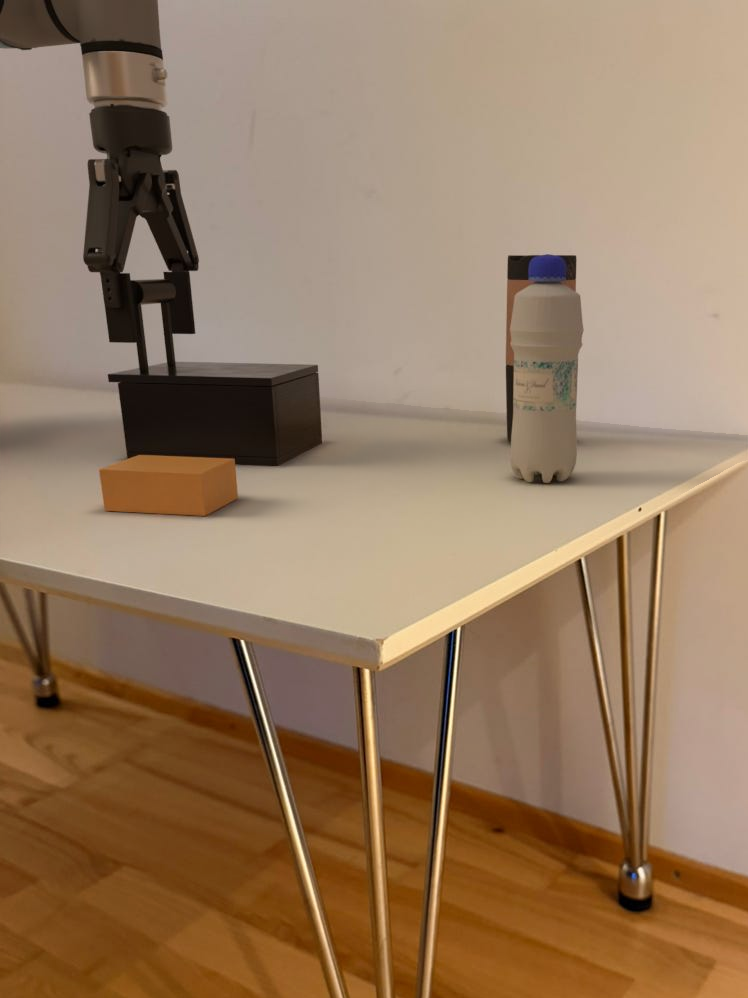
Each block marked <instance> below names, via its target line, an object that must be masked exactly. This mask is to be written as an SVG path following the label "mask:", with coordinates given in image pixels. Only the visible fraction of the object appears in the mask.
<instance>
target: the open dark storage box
mask: <svg viewBox="0 0 748 998" xmlns="http://www.w3.org/2000/svg"><path fill="white" fill-rule="evenodd" d="M117 389H118V396H119V397H118V398H119V404H120V411H121V412H120V413H121V419H122V420H121V421H122V428H123V435H124V443H125V451H126V459H129V458H132V457H135V456H137V455H155V456H180V457H205V458H230V459H235V465H248V466H249V465H250V466H251V465H252V466H272V467H274V466H275V467H277V466H279V465H281V464H283V463H285V462H288V461H289V460H291V459H294V458H295V457H297V456H299V455H301V454H303V453H305V452H307V451H309V450H311V449H313V448H315V447H317V446H319V445H321V444H323V431H322V429H323V428H322V415H321V414H322V411H321V395H320V393H321V392H320V377H319V372H317V373H313V374H310V375H307V376H304V377H300V378H297V379H294V380H290V381H287V382H284V383H281V384H277V385H274V386H237V385H199V384H161V383H123V382H117Z"/></svg>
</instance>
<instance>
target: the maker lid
mask: <svg viewBox="0 0 748 998" xmlns="http://www.w3.org/2000/svg"><path fill="white" fill-rule="evenodd" d="M131 288H132V296H133V304H134V313H135V321H136V330H137V338H138V342H136V344H135V345H136V352H137V353H136V354H137V360H138V368H137V367H136V368H133V369H127V370H122V371H117V372H112V373H108V374H107V381H108V383H120V382H123V383H161V384H199V385H237V386H274V385H277V384H281V383H284V382H287V381H290V380H294V379H297V378H300V377H304V376H307V375H310V374H313V373H319V365H318V364H299V363H256V362H255V363H253V362H208V361H206V362H205V361H176V354H175V345H174V336H173V335H174V334H172V325H171V316H170V306H169V302H171V301H172V300H173V299H174V298H175V295H176V289H175V286H174V285H173V283H172V282H171V281H169V280H167V279H164V278H160V279H159V278H157V279H156V278H154V279H152V278H151V279H131ZM154 304H155V305H156V304H160V311H161V320H162V328H163V339H164V347H165V349H164V350H165V358H166V362H163V363H158V364H152V365H149V360H148V353H147V344H146V334H145V328H144V318H143V317H144V316H143V308H142V305H154Z"/></svg>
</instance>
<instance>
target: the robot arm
mask: <svg viewBox="0 0 748 998" xmlns="http://www.w3.org/2000/svg"><path fill="white" fill-rule="evenodd" d="M159 14H160V13H159V1H158V0H0V49H3V50H4V49H5V50H6V49H9V50H10V49H17V50H21V51H30V50H32V49H38V48H45V47H55V46H65V45H72V44H73V45H75V44H79V45H80V51H81V57H82V58H81V59H82V68H83V75H84V76H83V77H84V87H85V95H86V100H87V101H86V102H88V103H89V104H91V105H93V108H92V109H91V110H90V112H89V113H88V115H89V122H90V131H91V139H92V146H93V148H94V149H95V151H96V152H98V153H100V154H105V155H106V158H91V159H88V160H87V173H88V184H89V186H88V197H87V199H88V200H87V208H86V219H85V230H84V231H85V232H84V243H83V252H82V259H83V262H84V264H85V265H86V267H87V269H88V271H89V272H90V273H99V275H100V281H101V290H102V297H103V304H104V310H105V318H106V327H107V328H106V329H107V334H108V342H109V343H116V344H117V343H118V344H119V343H120V344H121V343H123V344H125V343H127V344H135V343H136V342H138V338H137V330H136V321H135V313H134V304H133V296H132V288H131V280H132V279H131V273H130V272H124V270H125V266H126V262H127V258H128V254H129V250H130V246H131V242H132V238H133V234H134V228H135V226H136V225H135V224H136V220H137V217H138V216H140V217H141V218H142V219H145V221H146V223H147V225H148V228H149V231H150V232H151V234H152V236H153V239H154V241H155V243H156V245H157V248H158V250H159V253H160V254H161V257H162V259H163V262H164V264H165V266H166V268H167V270H168V271H163V272H162V273H163V279H167V280H169V281H171V282H172V283H173V285H174V286H175V289H176V295H175V298H174V299H173V300H172V301H171V302H169V306H170V316H171V325H172V334H173V335H195V334H196V324H195V315H194V305H193V304H194V303H193V296H192V295H193V294H192V284H191V275H190V272H198V271H199V268H200V267H199V262H200V258H199V254H198V250H197V246H196V242H195V239H194V235H193V232H192V228H191V223H190V221H189V217H188V214H187V210H186V208H185V203H184V199H183V196H182V189H181V185H180V184H181V183H180V175H179V172H178V171H177V170H176V169H163V166H162V161H161V157H162V156H167V155H169V154H171V153H172V151H173V141H172V131H171V129H172V128H171V119H170V116H169V115H168V113H167V112H165V111H164V110H163V108H165V107H166V106H167V105H168V96H167V95H168V94H167V85H166V80H167V79H168V77H169V75H168V72H167V70H166V69H165V66H164V55H163V50H162V43H161V42H162V41H161V30H160V15H159ZM96 250H97V251H96Z"/></svg>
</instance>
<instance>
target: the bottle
mask: <svg viewBox="0 0 748 998" xmlns="http://www.w3.org/2000/svg"><path fill="white" fill-rule="evenodd" d="M540 255H541V256H537V257H534V258H533V259H532V260H531V261H530V263H529V269H528V278H529V281H535V283H533V284H531V285H530V286H528V287H526V288H525V289H523V290H521V291H520V292H518V293H516V295H515V298H514V305H513V313H512V319H511V326H510V333H511V343H510V345H511V347H512V349H513V352H514V384H513V423H512V435H511V443H510V466H511V470H512V473H513V474H514V476H515V477H516V478H518V479H520V480H524V481H525V482H527V483H533V482H534V480H535V475H536V474H537V475H541V479H542V480H541V481H542V482H543V483H544V484H549V483H550V482H551V481H552V479H553V476H556V480H557V482H558V483H559V482H564V481H566V480H568V479H569V477H570V476H571V475H572V474H573V473H574V470H575V467H576V463H577V457H578V432H577V405H578V404H577V403H578V402H577V401H578V400H577V399H578V373H579V353H580V350H581V348H582V347H583V334H584V331H585V329H584V323H583V311H582V300H581V294H580V293H578V292H577V291H576V292H575V291H574V290H572V289H570V288H569V287H567V286H566V285H564V284H563V283H561V282H563V281H566V262H565V260H564V259H563V258H561V257H559V256H555V255H556V254H547V253H546V254H540Z"/></svg>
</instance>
